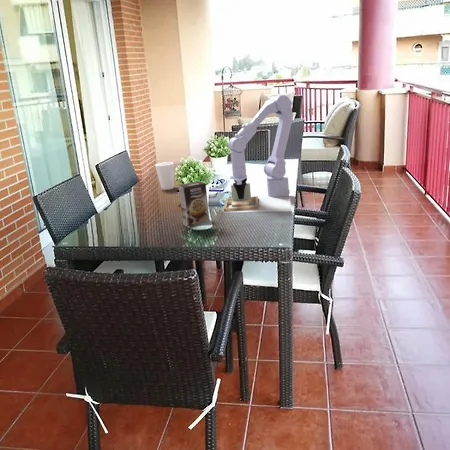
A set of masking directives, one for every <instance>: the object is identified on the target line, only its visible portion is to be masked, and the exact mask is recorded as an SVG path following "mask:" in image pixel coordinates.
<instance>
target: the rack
mask: <svg viewBox="0 0 450 450" xmlns="http://www.w3.org/2000/svg"><path fill="white" fill-rule="evenodd" d="M240 201H248V202H249V204H250V203H251V204H252V203H255V204H254V205H249V206H244V207H232V206H229V207H228V205H232V202H240ZM222 209H223V212H233V211H236V212H237V211H249V210H258V209H259V196H258V195H257V196H256V195H255V196H251V199H249V200H235V201H232V197H230V198H225V201H224V204H223V207H222Z"/></svg>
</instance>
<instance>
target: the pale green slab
mask: <svg viewBox="0 0 450 450" xmlns="http://www.w3.org/2000/svg"><path fill="white" fill-rule="evenodd" d="M230 187H231V188H230V189H231V198H232V201H235V200H249V199H251V197H252V193H251V183H249V182H248V183H247V182H246V186H245V190H244V199H239V198H238V195H237V192H236V189H235V187H234V186H233V184H231V185H230Z"/></svg>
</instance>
